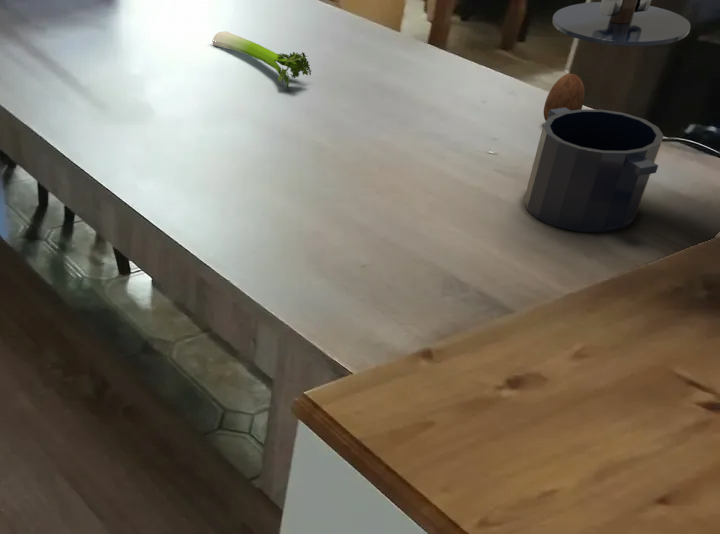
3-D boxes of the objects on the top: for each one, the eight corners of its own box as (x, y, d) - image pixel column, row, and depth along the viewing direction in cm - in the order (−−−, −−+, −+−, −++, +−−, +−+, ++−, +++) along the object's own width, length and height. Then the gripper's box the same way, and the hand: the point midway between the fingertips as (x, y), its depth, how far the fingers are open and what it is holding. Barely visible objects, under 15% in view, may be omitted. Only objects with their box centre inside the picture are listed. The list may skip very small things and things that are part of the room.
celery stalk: (237, 50, 180) (321, 85, 157) (205, 61, 179) (286, 99, 156) (233, 17, 176) (319, 48, 154) (200, 28, 175) (282, 62, 152)
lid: (633, 5, 116) (645, -35, 113) (716, 42, 105) (732, -2, 102) (526, 19, 114) (535, -21, 111) (599, 58, 103) (612, 15, 100)
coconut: (532, 125, 143) (545, 73, 137) (554, 117, 145) (568, 65, 139) (560, 136, 139) (575, 83, 134) (583, 128, 141) (598, 74, 136)
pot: (582, 170, 130) (605, 96, 124) (672, 232, 116) (703, 152, 110) (494, 184, 129) (512, 110, 122) (574, 249, 115) (599, 169, 108)
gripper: (594, -110, 95) (558, 31, 104) (767, -129, 98) (717, 9, 107) (558, -121, 100) (527, 15, 109) (724, -139, 103) (681, -6, 112)
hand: (623, 12), depth 108 cm, fingers closed on lid, 2 cm apart
